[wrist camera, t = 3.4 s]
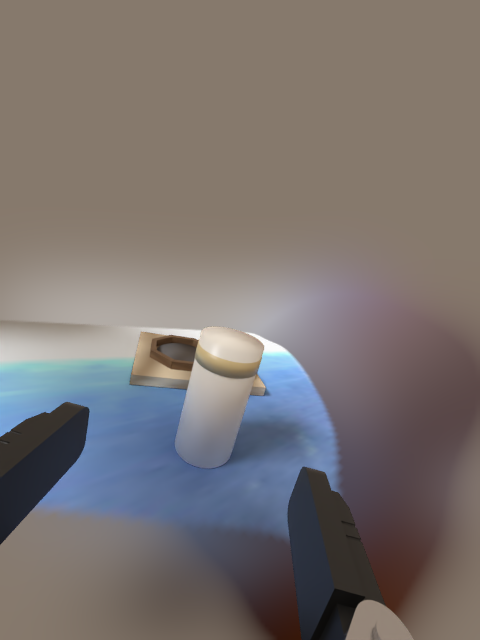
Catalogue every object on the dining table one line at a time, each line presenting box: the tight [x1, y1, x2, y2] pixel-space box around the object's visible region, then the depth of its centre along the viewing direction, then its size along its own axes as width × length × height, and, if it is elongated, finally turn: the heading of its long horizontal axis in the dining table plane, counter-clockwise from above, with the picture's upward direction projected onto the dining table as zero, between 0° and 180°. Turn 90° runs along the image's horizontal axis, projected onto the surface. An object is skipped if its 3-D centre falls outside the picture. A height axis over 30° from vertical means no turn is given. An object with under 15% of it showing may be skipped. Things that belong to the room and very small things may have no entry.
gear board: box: [130, 332, 266, 396], centre depth 36 cm, size 16×13×2 cm
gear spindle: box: [175, 327, 264, 469], centre depth 21 cm, size 5×5×10 cm
